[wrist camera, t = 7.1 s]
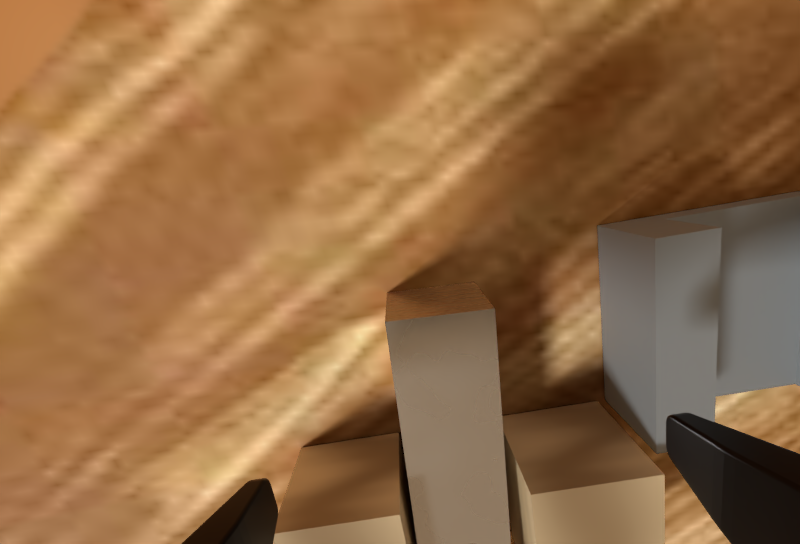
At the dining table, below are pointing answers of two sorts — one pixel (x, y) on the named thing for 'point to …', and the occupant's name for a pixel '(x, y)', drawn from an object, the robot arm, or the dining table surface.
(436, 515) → the bar
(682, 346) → the v cradle
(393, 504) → the wooden blocks
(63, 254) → the dining table surface
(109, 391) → the dining table surface
